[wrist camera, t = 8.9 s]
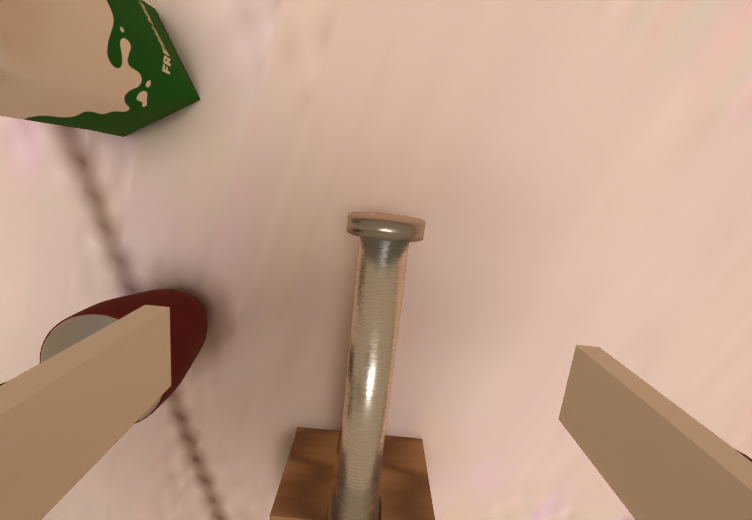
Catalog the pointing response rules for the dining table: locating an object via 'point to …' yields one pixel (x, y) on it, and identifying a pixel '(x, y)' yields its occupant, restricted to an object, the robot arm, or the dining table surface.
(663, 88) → the dining table surface
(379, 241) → the shaft
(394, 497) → the cradle block
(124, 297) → the mug
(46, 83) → the milk carton
